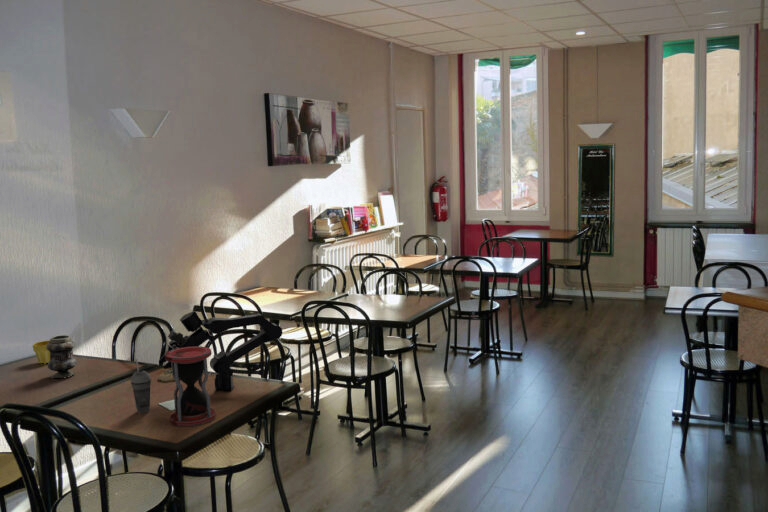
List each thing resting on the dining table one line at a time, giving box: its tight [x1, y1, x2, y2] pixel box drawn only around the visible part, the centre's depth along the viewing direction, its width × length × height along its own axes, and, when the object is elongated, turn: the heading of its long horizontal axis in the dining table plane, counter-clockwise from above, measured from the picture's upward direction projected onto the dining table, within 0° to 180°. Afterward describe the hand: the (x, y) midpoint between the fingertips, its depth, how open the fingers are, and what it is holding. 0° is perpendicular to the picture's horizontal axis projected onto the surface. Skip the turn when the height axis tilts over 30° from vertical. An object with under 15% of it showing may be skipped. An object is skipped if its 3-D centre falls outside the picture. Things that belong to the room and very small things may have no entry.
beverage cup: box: [130, 359, 152, 414], centre depth 269 cm, size 7×7×20 cm
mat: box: [158, 399, 175, 411], centre depth 277 cm, size 11×11×1 cm
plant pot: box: [32, 339, 50, 364], centre depth 346 cm, size 10×10×10 cm
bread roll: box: [157, 368, 181, 382], centre depth 312 cm, size 11×11×5 cm
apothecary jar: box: [46, 334, 78, 379], centre depth 321 cm, size 12×12×18 cm
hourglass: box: [164, 345, 217, 427], centre depth 258 cm, size 16×16×25 cm
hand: (161, 365), depth 280 cm, fingers open, 9 cm apart
